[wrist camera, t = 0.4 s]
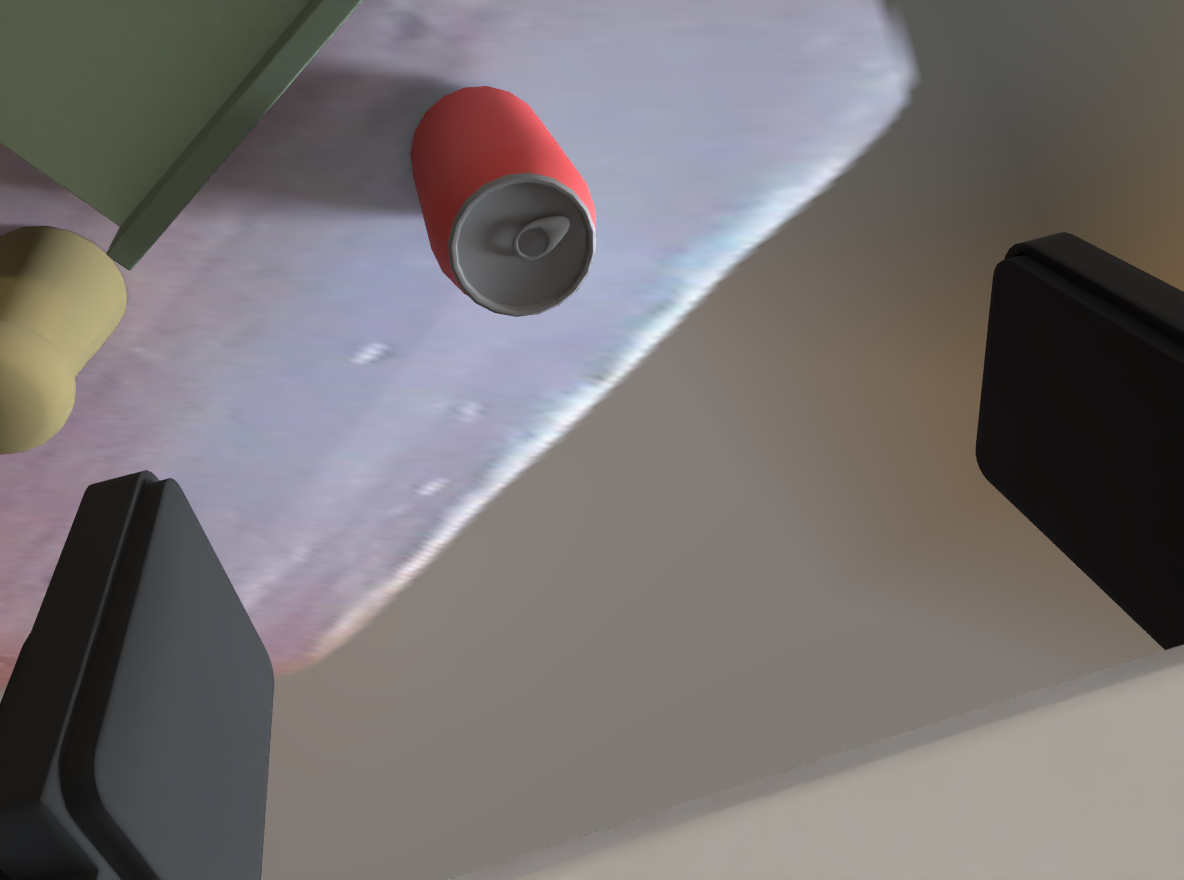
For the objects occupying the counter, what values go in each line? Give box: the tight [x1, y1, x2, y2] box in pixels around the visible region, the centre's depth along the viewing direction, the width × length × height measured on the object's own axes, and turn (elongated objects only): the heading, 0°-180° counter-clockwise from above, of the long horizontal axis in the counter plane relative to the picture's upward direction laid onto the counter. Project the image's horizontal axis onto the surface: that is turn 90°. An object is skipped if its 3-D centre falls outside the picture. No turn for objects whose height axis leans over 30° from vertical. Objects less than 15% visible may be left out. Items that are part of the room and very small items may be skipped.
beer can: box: [411, 86, 596, 317], centre depth 39 cm, size 7×7×12 cm
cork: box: [0, 226, 127, 455], centre depth 38 cm, size 6×6×11 cm
